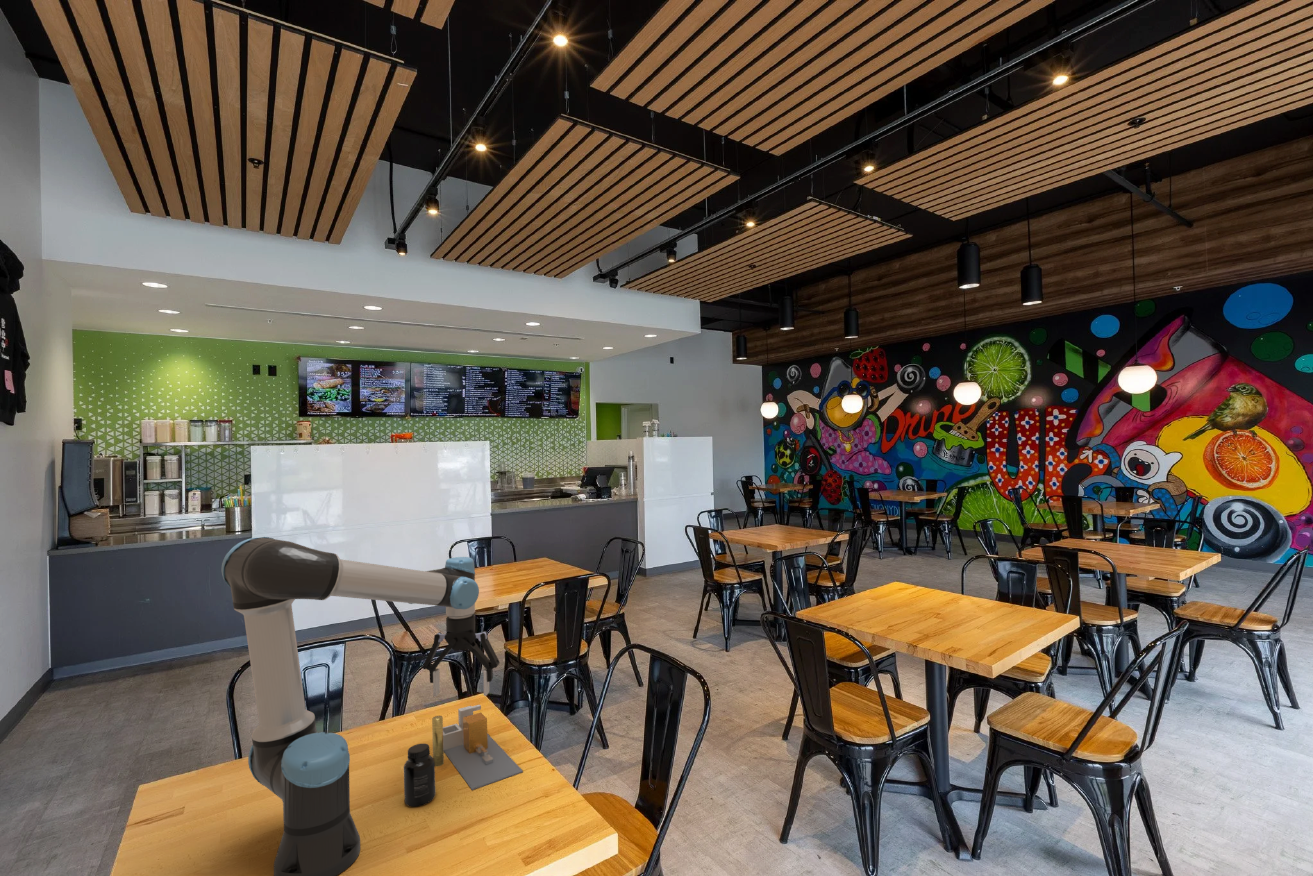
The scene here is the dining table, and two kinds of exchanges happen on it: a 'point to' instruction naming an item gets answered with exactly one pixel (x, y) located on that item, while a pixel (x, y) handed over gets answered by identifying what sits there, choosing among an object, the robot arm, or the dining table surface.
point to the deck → (476, 756)
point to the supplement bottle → (419, 776)
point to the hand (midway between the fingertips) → (461, 694)
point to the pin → (438, 740)
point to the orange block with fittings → (476, 736)
